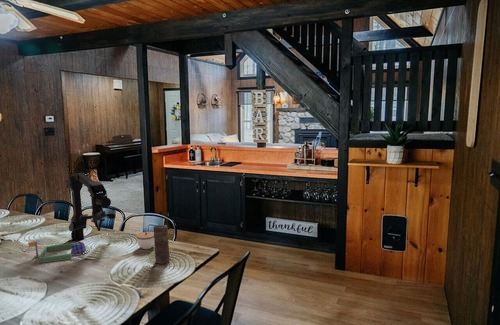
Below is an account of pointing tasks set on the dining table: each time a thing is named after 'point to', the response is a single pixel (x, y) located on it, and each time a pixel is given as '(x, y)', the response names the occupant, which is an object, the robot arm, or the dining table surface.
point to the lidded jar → (145, 240)
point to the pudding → (78, 248)
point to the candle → (161, 244)
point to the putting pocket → (50, 248)
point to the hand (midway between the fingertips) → (99, 230)
